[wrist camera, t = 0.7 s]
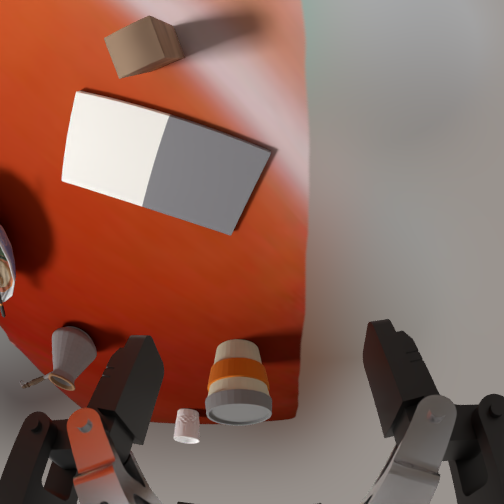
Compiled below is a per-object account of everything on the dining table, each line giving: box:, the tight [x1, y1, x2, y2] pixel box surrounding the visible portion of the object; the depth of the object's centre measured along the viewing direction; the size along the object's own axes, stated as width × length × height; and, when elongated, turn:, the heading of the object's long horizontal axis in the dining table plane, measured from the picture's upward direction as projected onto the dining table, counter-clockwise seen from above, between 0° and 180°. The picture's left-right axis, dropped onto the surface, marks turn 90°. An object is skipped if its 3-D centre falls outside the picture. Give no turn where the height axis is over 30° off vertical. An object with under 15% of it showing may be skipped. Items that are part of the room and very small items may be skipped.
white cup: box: [174, 408, 200, 443], centre depth 78 cm, size 8×8×10 cm
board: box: [62, 91, 271, 235], centre depth 35 cm, size 26×13×1 cm, turn 66°
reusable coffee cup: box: [205, 339, 272, 425], centre depth 55 cm, size 13×13×15 cm
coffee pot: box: [21, 326, 97, 391], centre depth 52 cm, size 21×12×15 cm, turn 105°
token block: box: [104, 16, 185, 79], centre depth 23 cm, size 4×4×10 cm
